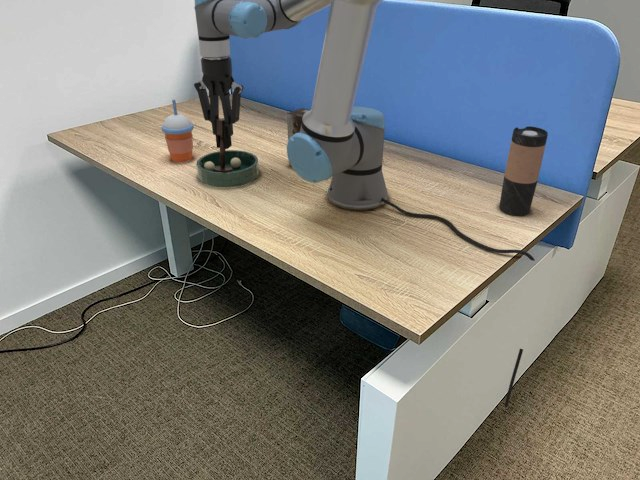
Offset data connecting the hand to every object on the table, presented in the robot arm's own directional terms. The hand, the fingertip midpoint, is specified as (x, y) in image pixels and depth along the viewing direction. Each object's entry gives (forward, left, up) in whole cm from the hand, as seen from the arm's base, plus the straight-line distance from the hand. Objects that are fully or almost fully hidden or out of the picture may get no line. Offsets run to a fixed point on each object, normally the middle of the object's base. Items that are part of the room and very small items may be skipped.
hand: (224, 146), depth 142 cm
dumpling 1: (+5, +2, -8) cm, 10 cm away
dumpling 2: (+2, -6, -8) cm, 10 cm away
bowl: (0, 0, -9) cm, 9 cm away
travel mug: (-70, -31, -9) cm, 77 cm away
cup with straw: (+20, 0, -9) cm, 22 cm away
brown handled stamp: (0, +2, -8) cm, 8 cm away
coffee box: (-13, -19, -9) cm, 25 cm away
